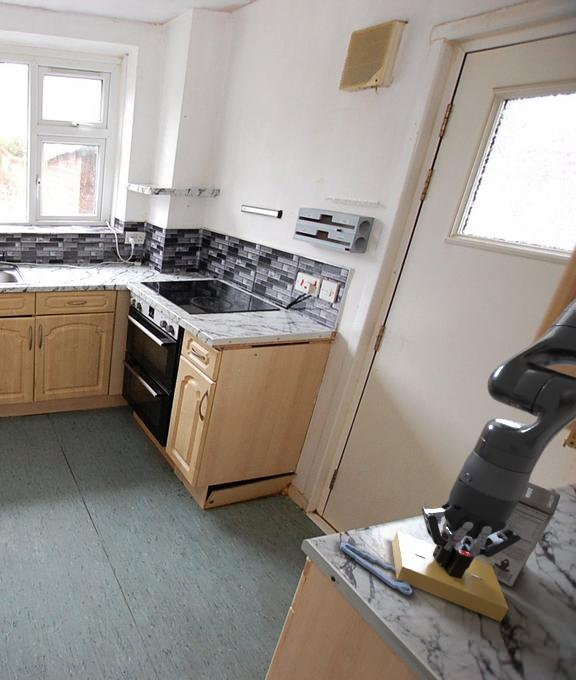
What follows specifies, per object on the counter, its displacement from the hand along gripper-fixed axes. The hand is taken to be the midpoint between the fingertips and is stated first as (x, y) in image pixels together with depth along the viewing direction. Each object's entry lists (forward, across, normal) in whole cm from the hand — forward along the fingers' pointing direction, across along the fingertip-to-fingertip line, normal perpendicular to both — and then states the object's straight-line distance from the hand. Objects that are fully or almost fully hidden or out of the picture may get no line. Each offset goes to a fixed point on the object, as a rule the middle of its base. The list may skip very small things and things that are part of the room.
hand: (447, 565), depth 79 cm
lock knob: (0, 0, 0) cm, 0 cm away
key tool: (+4, +10, +1) cm, 11 cm away
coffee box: (+3, -12, -8) cm, 15 cm away
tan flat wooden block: (+3, 0, 0) cm, 3 cm away
